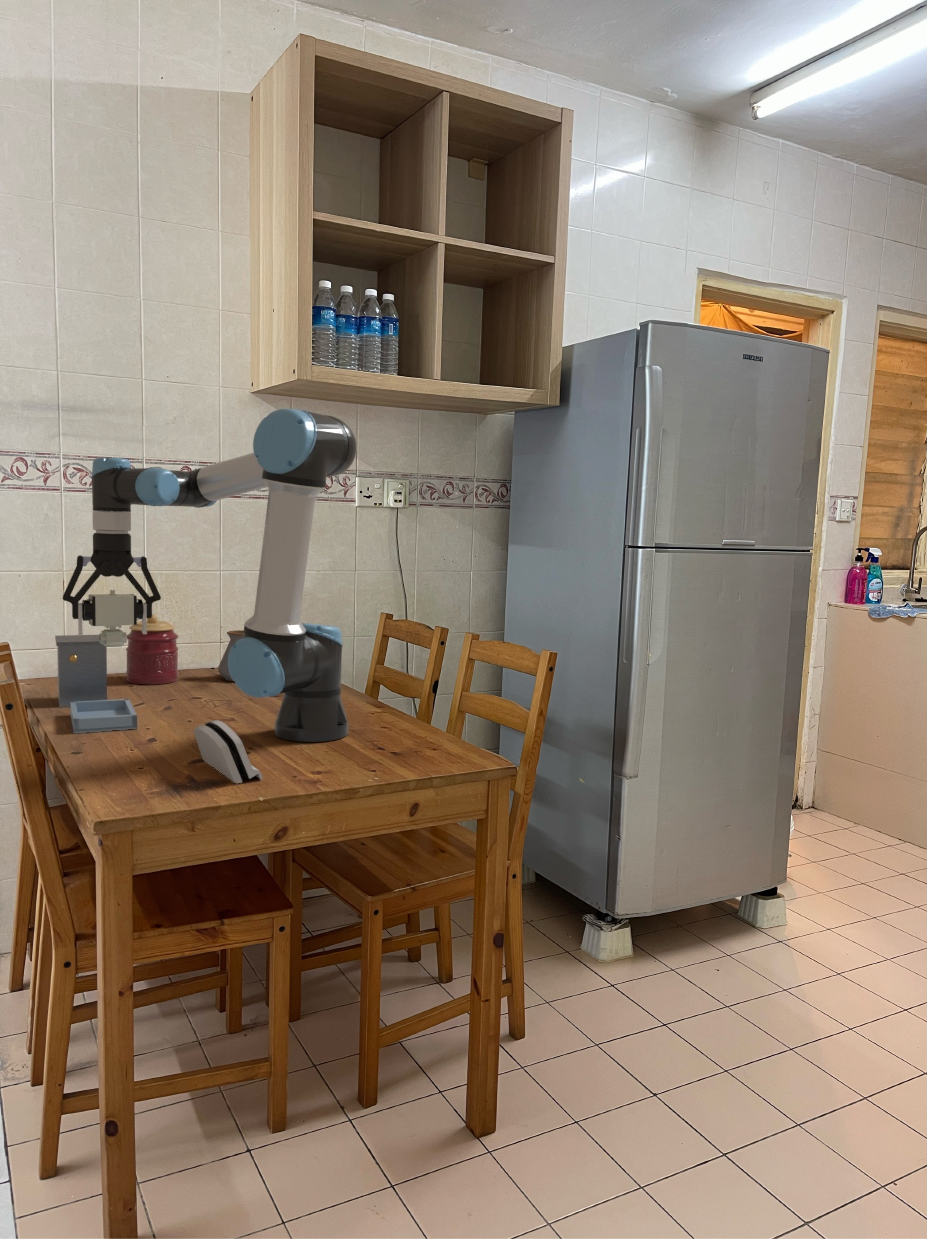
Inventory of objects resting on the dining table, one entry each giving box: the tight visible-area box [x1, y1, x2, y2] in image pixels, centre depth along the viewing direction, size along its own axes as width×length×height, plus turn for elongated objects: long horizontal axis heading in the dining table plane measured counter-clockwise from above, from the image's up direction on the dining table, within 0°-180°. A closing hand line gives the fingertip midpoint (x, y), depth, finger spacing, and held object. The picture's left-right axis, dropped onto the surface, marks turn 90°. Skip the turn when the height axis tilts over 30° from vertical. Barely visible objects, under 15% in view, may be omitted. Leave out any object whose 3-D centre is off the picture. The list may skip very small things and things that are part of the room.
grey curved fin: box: [193, 719, 264, 784], centre depth 159 cm, size 17×5×10 cm, turn 35°
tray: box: [69, 698, 138, 734], centre depth 190 cm, size 17×12×3 cm
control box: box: [54, 634, 108, 708], centre depth 208 cm, size 11×11×15 cm
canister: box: [125, 613, 179, 686], centre depth 235 cm, size 13×13×18 cm
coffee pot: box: [217, 629, 244, 682], centre depth 238 cm, size 21×12×15 cm, turn 25°
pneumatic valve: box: [81, 589, 144, 648], centre depth 192 cm, size 6×12×12 cm, turn 121°
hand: (112, 634), depth 192 cm, fingers closed on pneumatic valve, 12 cm apart
